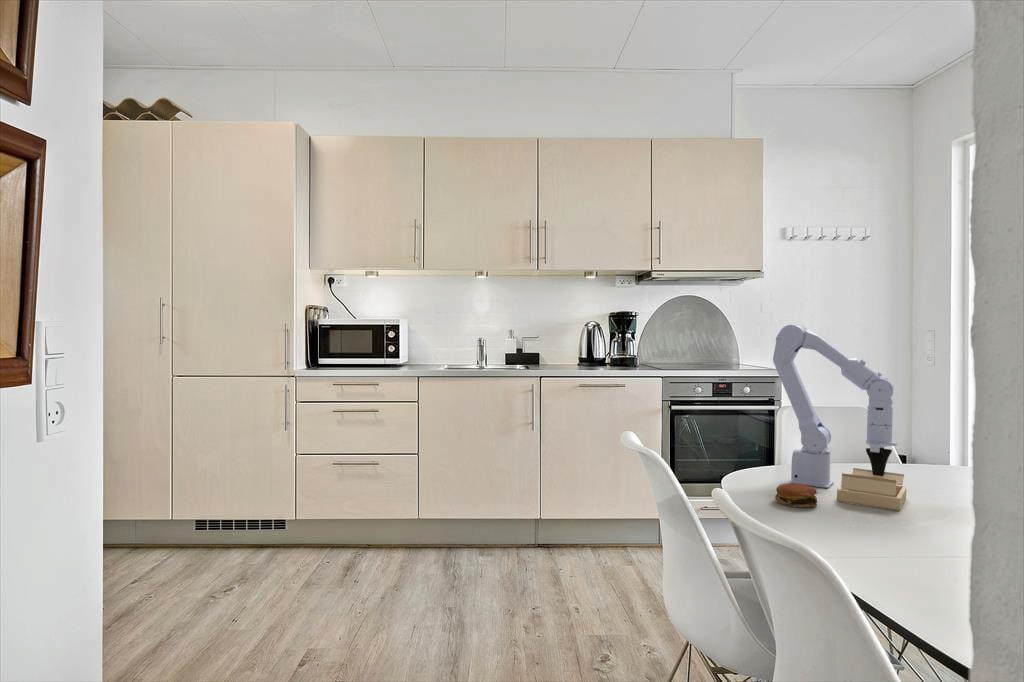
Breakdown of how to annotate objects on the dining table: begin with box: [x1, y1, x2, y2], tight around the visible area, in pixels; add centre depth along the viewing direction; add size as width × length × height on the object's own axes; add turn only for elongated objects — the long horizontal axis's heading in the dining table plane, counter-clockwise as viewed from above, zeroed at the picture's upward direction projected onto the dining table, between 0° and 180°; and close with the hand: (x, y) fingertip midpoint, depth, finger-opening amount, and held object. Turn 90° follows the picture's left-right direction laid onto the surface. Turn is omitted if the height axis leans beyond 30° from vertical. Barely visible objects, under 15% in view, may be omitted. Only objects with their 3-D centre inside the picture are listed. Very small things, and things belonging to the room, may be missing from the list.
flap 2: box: [851, 467, 905, 486], centre depth 171 cm, size 12×1×4 cm
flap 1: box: [840, 472, 896, 496], centre depth 159 cm, size 12×1×4 cm, turn 53°
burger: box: [774, 482, 818, 508], centre depth 161 cm, size 10×9×5 cm
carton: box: [836, 485, 907, 512], centre depth 164 cm, size 14×14×3 cm
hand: (878, 476), depth 172 cm, fingers closed, pressing on flap 2
